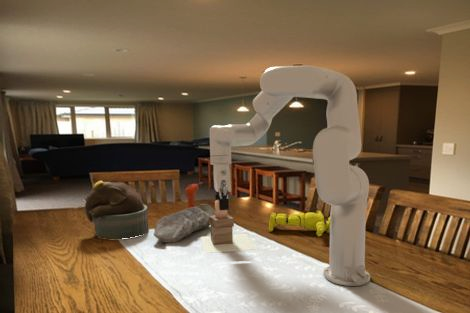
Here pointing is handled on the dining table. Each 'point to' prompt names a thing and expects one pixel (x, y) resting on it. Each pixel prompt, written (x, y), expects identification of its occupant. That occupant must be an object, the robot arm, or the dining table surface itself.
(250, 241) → the board
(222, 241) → the slab bottom
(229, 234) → the slab mid
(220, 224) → the slab top
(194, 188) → the toy drill
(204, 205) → the decorative stone
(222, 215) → the cylinder
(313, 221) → the toy
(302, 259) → the dining table surface
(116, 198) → the brown blob in bowl
